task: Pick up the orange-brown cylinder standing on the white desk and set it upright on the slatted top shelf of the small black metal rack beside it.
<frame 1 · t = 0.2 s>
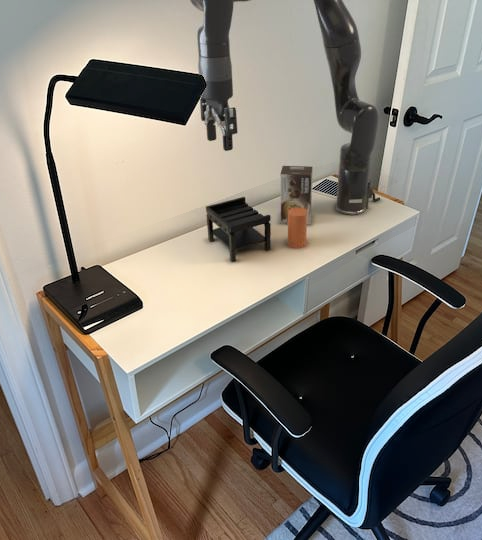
hand: (219, 145, 125), 29 cm above the table, tool pointing down, fingers open, 8 cm apart
coffee box: (295, 220, 156), on the table
rack: (239, 244, 142), on the table
orange-brown cylinder: (296, 243, 143), on the table
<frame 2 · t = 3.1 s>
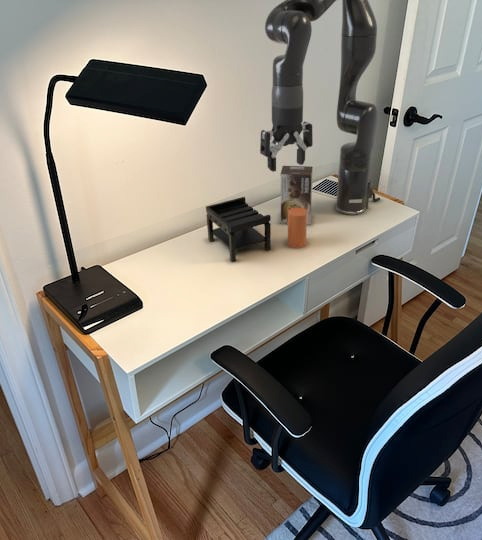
hand: (286, 167, 131), 23 cm above the table, tool pointing down, fingers open, 8 cm apart
nothing on the table moved.
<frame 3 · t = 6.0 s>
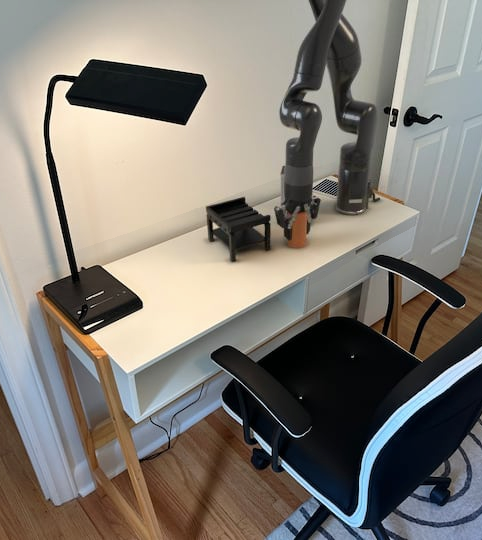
hand: (297, 235, 142), 2 cm above the table, tool pointing down, fingers closed on orange-brown cylinder, 5 cm apart
orange-brown cylinder: (296, 243, 143), on the table, touching gripper
everything else where it was.
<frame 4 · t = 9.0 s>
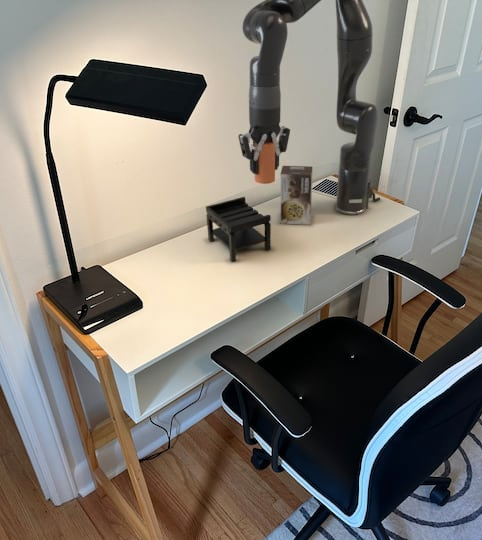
hand: (264, 170, 131), 22 cm above the table, tool pointing down, fingers closed on orange-brown cylinder, 5 cm apart
orange-brown cylinder: (264, 179, 132), point 19 cm above the table, touching gripper
everything else where it was.
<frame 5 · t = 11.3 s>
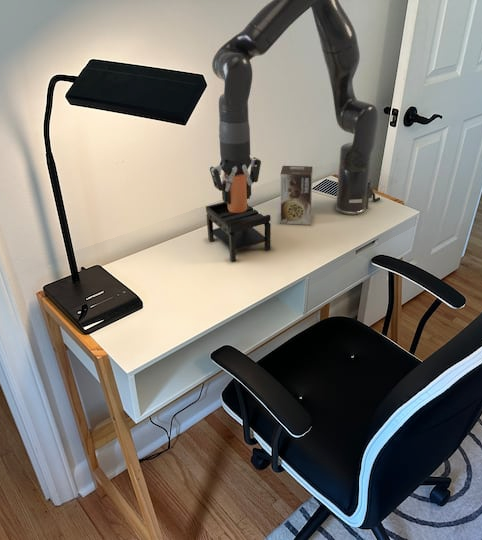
hand: (237, 200, 135), 14 cm above the table, tool pointing down, fingers closed on orange-brown cylinder, 5 cm apart
orange-brown cylinder: (237, 208, 136), point 11 cm above the table, touching gripper
everything else where it was.
when the fingers open (11 cm above the table, at t = 12.5 s): orange-brown cylinder stays where it is, resting on rack.
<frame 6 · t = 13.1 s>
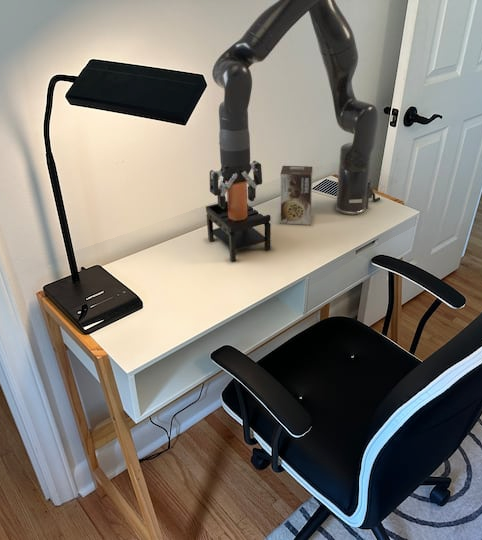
hand: (237, 203, 136), 13 cm above the table, tool pointing down, fingers open, 8 cm apart
orange-brown cylinder: (237, 216, 138), point 9 cm above the table, touching rack
everything else where it was.
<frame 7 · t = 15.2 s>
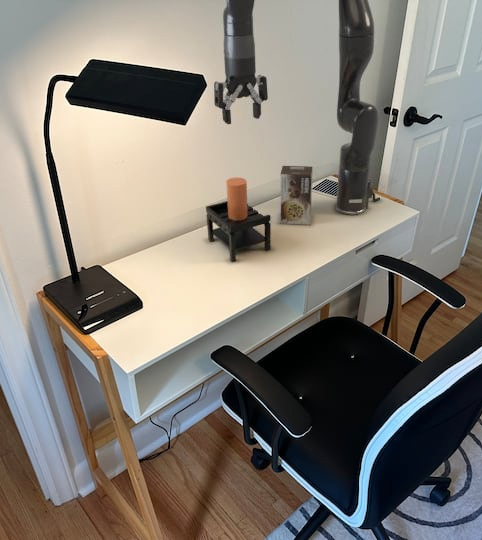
hand: (242, 120, 133), 32 cm above the table, tool pointing down, fingers open, 8 cm apart
nothing on the table moved.
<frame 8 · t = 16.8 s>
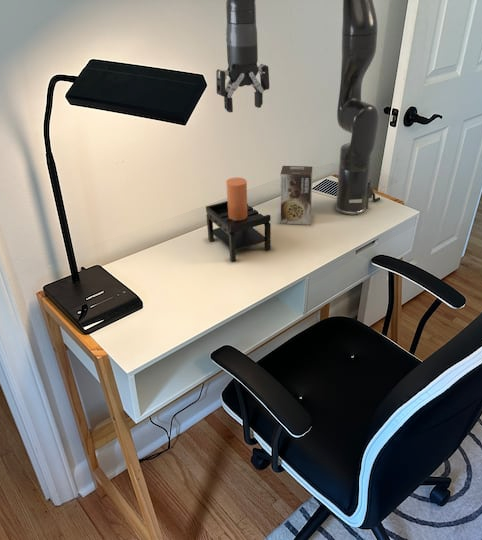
hand: (244, 109, 134), 34 cm above the table, tool pointing down, fingers open, 8 cm apart
nothing on the table moved.
at the end: orange-brown cylinder inside the target area on the rack (0.1 cm from its centre), point 9.0 cm above the rack's base; orange-brown cylinder tilted 0°; the gripper is holding nothing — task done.
